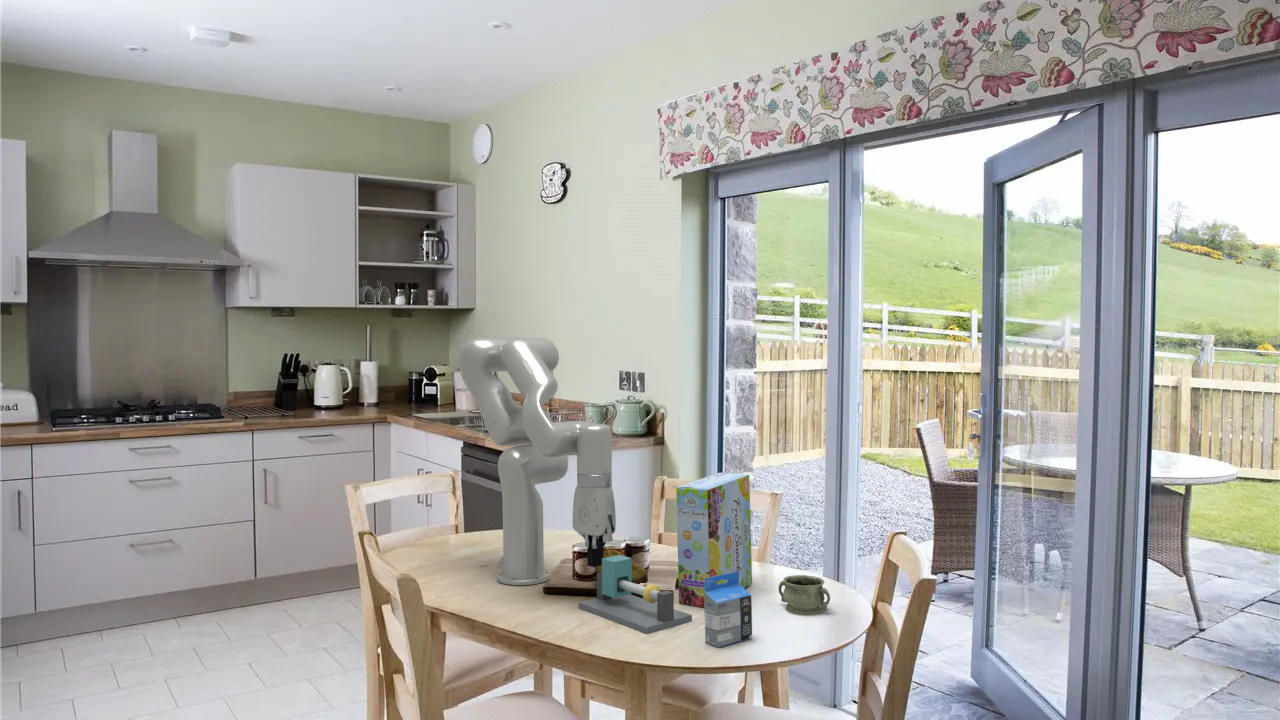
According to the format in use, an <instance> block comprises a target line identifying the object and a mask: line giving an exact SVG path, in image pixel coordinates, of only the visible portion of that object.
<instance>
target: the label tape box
mask: <svg viewBox="0 0 1280 720" xmlns="http://www.w3.org/2000/svg"><path fill="white" fill-rule="evenodd" d="M739 572H740V571H736V572H732V573H727V574H722V575H717V576H713V577H708V578H705V581H704V640H705V642H704V643H706V644H708V645H710V646H711V647H715V648H722V647H724V646H728V645H732V644H734V643H739V642H742V641H746V640H749V639H752V638H753V614H752V613H753V612H752V606H753V605H752V594H751V593H749V591H747V589H745V588H743V587H742V586H741V585H740V584H739ZM721 579H723V580H728V581H727V582H726V583H722V584H717V585H716V582H718V581H721Z"/></svg>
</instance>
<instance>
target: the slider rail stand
mask: <svg viewBox="0 0 1280 720" xmlns="http://www.w3.org/2000/svg"><path fill="white" fill-rule="evenodd" d="M617 587H618V588H621V589H624V590H627V591H630V592H632V593H634V594H637V595H639V596H642V597H639V596H637V595H634V594H628V595H624V596H620V597H616V598H613V597H610V596H607V595H604V594H602V572H601V573H597V572H596V598H592V599H588V600H583V601H578V609H580V610H583V611H586V612H588V613H591V614H593V615H595V616H596V615H597V616H598V617H601V618H604V619H607V620H609V621H612V622H615V623H617V624H619V625H623V626H625V627H628V628H631V629H633V630H636V631H639V632H641V633H643V634H646V635H647V634H651V633H655V632H659V631H662V630H665V629H669V628H673V627H675V626H678V625H683V624H686V623H689V622H692V621H693V615H692V614H690V613H687V612H684V611H681V610H678V609H676V608H675V606H674V605H675V604H674V603H675V602H674V597H675V596H674V595H675V593H674V592H673V591H669V590H668V589H667V590H664V591H662V590H660V588H659V586H658V585H656V584H654V583H653V584H652V583H650V584H648V583H647V584H646V586H645V585H644V586H641V585H638V584H635V583H632V582H628V581H625V580H622V579H619V578H617Z"/></svg>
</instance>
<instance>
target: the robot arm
mask: <svg viewBox="0 0 1280 720" xmlns="http://www.w3.org/2000/svg"><path fill="white" fill-rule="evenodd" d="M559 353H560V352H559V350H558V348H557V346H556V345H555V343H554V342H553V341H552V340H550V339H548V338H545V337H518V336H517V337H516V336H513V337H511V336H509V337H507V336H506V337H501V336H500V337H499V336H498V337H496V336H493V337H492V336H491V337H478V338H472V339H470V340H469V341H467V342H466V343H464V345H463V346H462V348H461V349H460V352H459V359H458V365H459V366H458V367H459V372H460V375H461V379H462V381H463V382H464V384H465V386H466V389H467V390H468V392H469V393H470V395H471V396H472V397H473V399H474V401H475V403H476V405H477V407H478V411H479V413H480V415H481V418H482V419H483V422H484V424H485V427H486V430H487V431H488V433H489V436H490V438H491V440H492V442H494V444H495V445H496V446H500V447H509V448H507V449H506V450H504V451H503V452H502V453H501V454H500V455H499V458H498V461H497V471H498V476H499V477H498V478H499V481H500V488H501V489H500V490H501V498H502V503H501V504H502V558H499V559H498V561H497V563H498V564H499V565H501V567H502V568H501V569H502V570H500V571H499V572H498V573H497V574H496V581H498V583H501V584H505V585H509V586H528V585H529V586H531V585H536V584H541V583H544V582H547V581H548V580H550V578H551V572H550V571H549V570H547V569H546V568H544V565H545V564H544V561H545V560H544V503H543V500H542V497H541V495H540V493H539V491H538V490H537V488H536V485H540V484H547V483H553V482H557V481H559V480H561V479H563V478H564V477H565V476H566V474H567V472H568V471H569V470H568V469H569V459H568V456H575V455H576V467H577V468H576V470H577V471H576V473H577V475H576V481H577V484H576V485H577V486H575V490H574V496H573V502H572V503H573V504H572V528H573V530H574V531H575V532H577V533H578V535H580V536H581V537H582V538H583V539H584V544H585V547H586V550H587V554H586V555H587V566H589V567H592V568H594V567H596V566H601V565H602V558H603V550H604V548H605V547H606V543H609V542H612V541H614V540H613V539H614V538H613V534H614V533H615V532H616V527H617V526H616V525H617V521H616V520H617V516H616V515H617V514H616V503H615V496H614V490H613V482H612V481H613V471H612V470H613V465H612V464H613V461H612V459H613V457H612V453H613V452H612V451H613V450H612V447H613V446H612V443H613V442H612V441H613V440H612V430H611V429H612V428H611V427H610V426H609V425H608V424H605V423H603V424H602V423H591V422H588V421H586V420H585V421H584V420H571V421H570V420H568V421H559V422H553V419H552V417H551V416H550V415H549V413H548V412H547V411H546V410H545V409H544V408H542V406H543V405H544V404H546V403H547V402H549V401H550V400H551V399H552V398H553V397H554V396H555V395H556V393H557V391H558V389H559V387H558V386H559V385H558V381H557V379H556V378H555V376H554V375H553V373H552V371H554V370H555V369H557V366H558V364H559V362H560V361H559V360H560V355H559ZM495 372H507V373H508V375H509V377H510V378H511V380H512V381H513V383H514V385H515V386H516V388H517V389H518V391H519V393H520V394H521V396H522V397H523V399H524V403H523V405H519V404H517V403H516V402H515V400H514V399H513V396H512V394H511V392H510V390H509V388H508V386H507V385H506V384H505V383H504V382H503V381H502V380H501V379H500V378H499V377H497V376H496V375H495V374H494V373H495ZM549 577H550V578H549Z"/></svg>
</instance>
